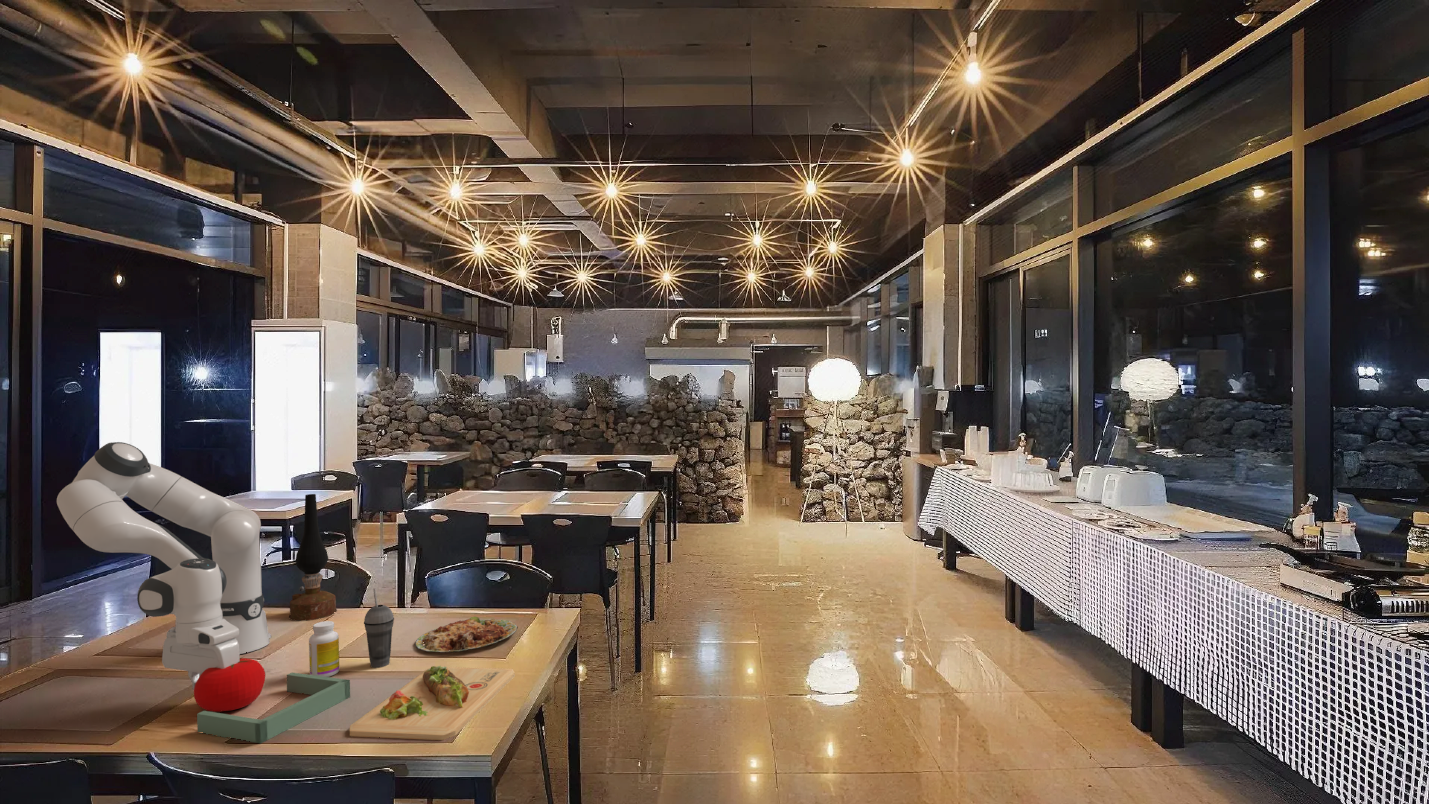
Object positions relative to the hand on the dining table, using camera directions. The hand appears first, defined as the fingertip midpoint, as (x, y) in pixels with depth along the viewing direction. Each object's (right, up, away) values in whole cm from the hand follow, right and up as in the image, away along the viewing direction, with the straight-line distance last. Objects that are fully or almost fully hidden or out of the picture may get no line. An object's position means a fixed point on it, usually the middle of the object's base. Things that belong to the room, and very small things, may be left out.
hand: (200, 689), depth 164 cm
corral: (+21, -3, -6) cm, 22 cm away
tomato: (+9, -3, -2) cm, 9 cm away
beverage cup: (+31, -3, +22) cm, 38 cm away
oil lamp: (-12, -3, +67) cm, 69 cm away
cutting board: (+56, -3, -1) cm, 56 cm away
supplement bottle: (+20, -3, +16) cm, 26 cm away
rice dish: (+47, -3, +41) cm, 63 cm away
